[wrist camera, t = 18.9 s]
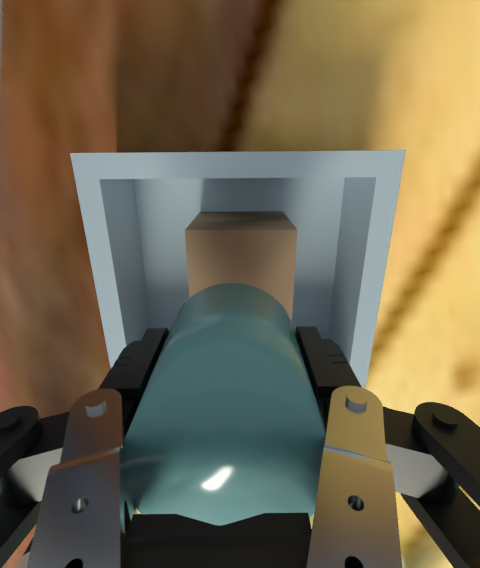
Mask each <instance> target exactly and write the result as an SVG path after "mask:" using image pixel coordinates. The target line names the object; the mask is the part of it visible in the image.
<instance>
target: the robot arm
mask: <svg viewBox="0 0 480 568" xmlns="http://www.w3.org/2000/svg"><path fill="white" fill-rule="evenodd" d="M168 334H169V330H168V328H148V329H147V330H146V332H145V333H144V335H143V337H142V339H141V341H133V342H131V343H130V344H129V345H127V346H126V347H125V348H123V350H122V352H121V353H120V355H119V356H118V359H117V360H116V361H115V363H114V366H112V368H111V369H110V371H109V372H108V374H107V376H106V377H105V379H104V380H103V382H102V384H101V385H100V387H99V389H97V390H94V391H91V392H89V393H86V394H85V395H83V396H81V397H80V398H79V399H77V400H76V401H75V402H74V403H73V405H72V406H71V408H70V411H69V412H66V413H63V414H58V415H54V416H50V417H46V418H42V419H40V417H39V414H38V411H37V410H36V409H35V408H34V407H31V406H19V407H14V408H11V409H8V410H5V411H3V412H1V413H0V568H2V567H3V565H4V564H5V563H6V561H7V560H8V559H9V558H10V556H11V555H12V554H13V553H14V551H15V550H16V549H17V547H18V546H19V545H20V544H21V542H22V541H23V540H24V539H25V537H26V536H27V535H28V533H29V532H30V531H31V530H32V528H33V527H34V526H35V525H36V528H35V532H34V537H33V541H32V546H31V550H30V555H29V559H28V564H27V568H402V561H401V550H400V540H399V529H398V518H397V507H396V496H395V491H396V492H399V493H400V494H401V496H402V497H403V499H404V500H405V502H406V503H407V504H408V506H409V507H410V508H411V510H412V511H413V512H414V514H415V515H416V517H417V518H418V519H419V521H420V522H421V523H422V525H423V526H424V528H425V529H426V530H427V532H428V533H429V534H430V536H431V537H432V539H433V540H434V541H435V543H436V544H437V545H438V547H439V548H440V549H441V551H442V552H443V554H444V555H445V556H446V558H447V559H448V560H449V562H450V563H451V565H452V566H453V567H454V568H480V510H479V509H478V508H477V507H476V506H475V505H474V504H473V503H472V502H471V501H470V500H469V498H468V497H467V496H466V495H465V494H464V493H463V492H462V491H461V490H460V489H459V485H460V486H461V487H462V488H463V489H464V490H465V491H466V492H467V494H468V495H469V496H470V497H471V498H472V499H473V500H474V501H475V502H476V503H477V504H478V505H479V506H480V427H479V426H478V425H476V424H475V423H474V422H473V421H472V420H470V419H469V418H468V417H467V416H465V415H464V414H463V413H461V412H460V411H458V410H456V409H454V408H452V407H450V406H447V405H444V404H441V403H435V402H426V403H422V404H420V405H418V406H417V407H416V409H415V413H414V414H410V413H405V412H401V411H396V410H392V409H389V408H386V407H383V406H382V403H381V401H380V400H379V398H378V397H377V396H376V395H374V394H373V393H372V392H370V391H368V390H366V389H364V388H362V387H361V385H360V383H359V381H358V379H357V377H356V376H355V374H354V372H353V370H352V368H351V366H350V364H348V361H347V359H346V357H345V356H344V353H343V351H342V350H341V348H340V346H339V345H338V344H336V343H335V342H334V341H333V340H331V339H322V338H321V336H320V334H319V332H318V330H317V328H316V326H296V329H295V335H296V338H297V341H298V344H299V347H300V350H301V354H302V357H303V360H304V363H305V366H306V369H307V372H308V375H309V379H310V382H311V385H312V388H313V391H314V394H315V397H316V400H317V404H318V407H319V410H320V413H321V416H322V419H323V422H324V425H325V429H326V438H325V444H324V449H323V455H322V462H321V470H320V477H319V484H318V491H317V498H316V505H315V512H314V519H313V526H312V529H311V525H310V520H309V515H308V513H263V514H260V515H256V516H253V517H250V518H246V519H243V520H239V521H236V522H233V523H229V524H226V525H221V526H218V525H213V524H210V523H206V522H203V521H199V520H196V519H192V518H189V517H185V516H182V515H178V514H137V508H136V503H135V499H132V497H131V493H130V488H129V483H128V477H127V469H126V453H125V448H124V443H123V442H124V439H125V437H126V435H127V432H128V430H129V427H130V425H131V423H132V420H133V418H134V415H135V413H136V411H137V408H138V406H139V403H140V401H141V399H142V396H143V394H144V391H145V389H146V387H147V384H148V382H149V379H150V377H151V375H152V372H153V370H154V367H155V365H156V362H157V360H158V358H159V355H160V353H161V350H162V348H163V346H164V343H165V341H166V338H167V336H168Z"/></svg>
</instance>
